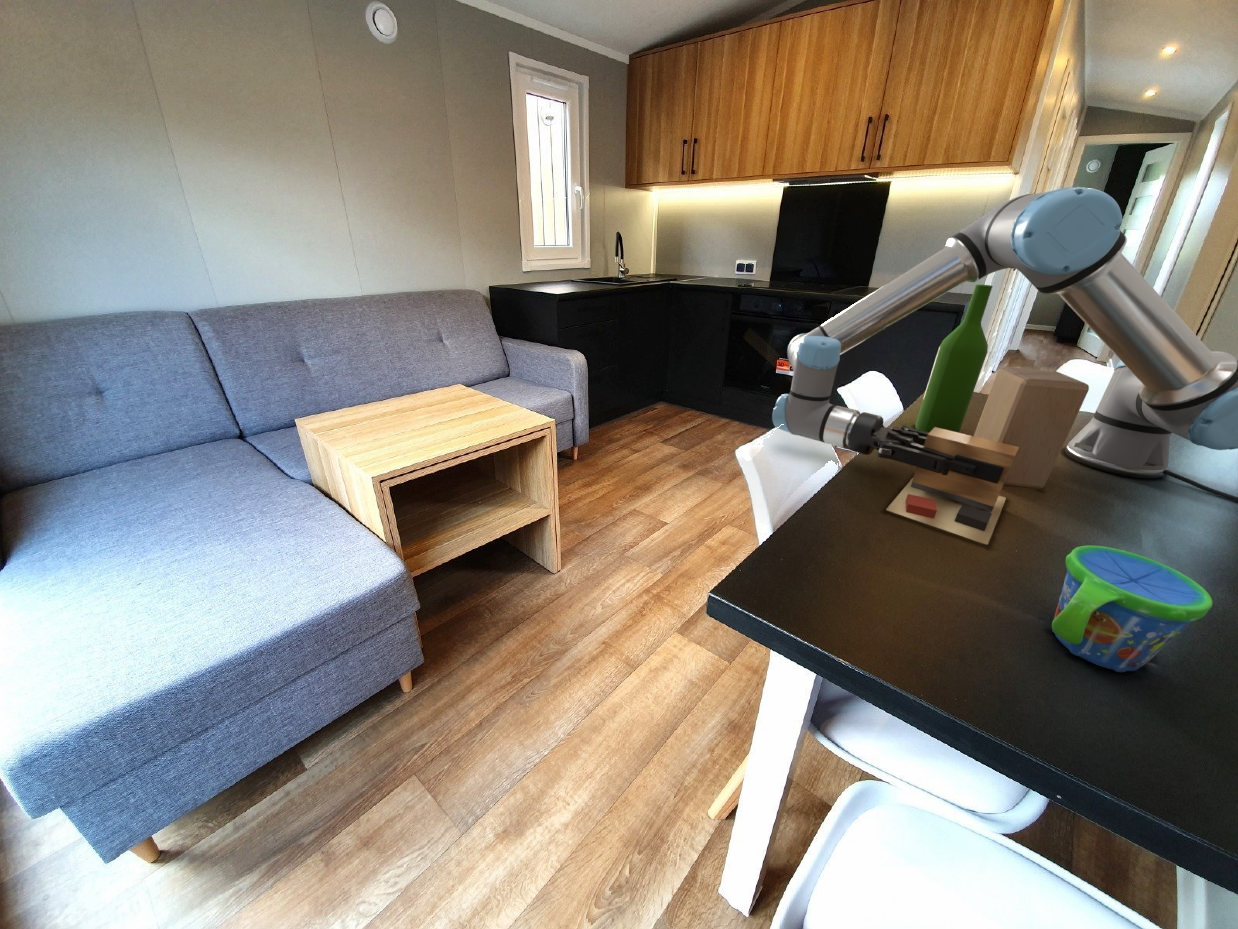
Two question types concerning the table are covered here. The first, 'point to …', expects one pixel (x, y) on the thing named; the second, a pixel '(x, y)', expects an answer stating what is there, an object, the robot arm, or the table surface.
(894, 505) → the board
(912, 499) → the crumb
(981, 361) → the wine bottle
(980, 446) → the eraser
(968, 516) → the crumb
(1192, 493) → the table surface
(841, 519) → the table surface
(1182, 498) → the table surface
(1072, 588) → the snack cup
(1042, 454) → the block
